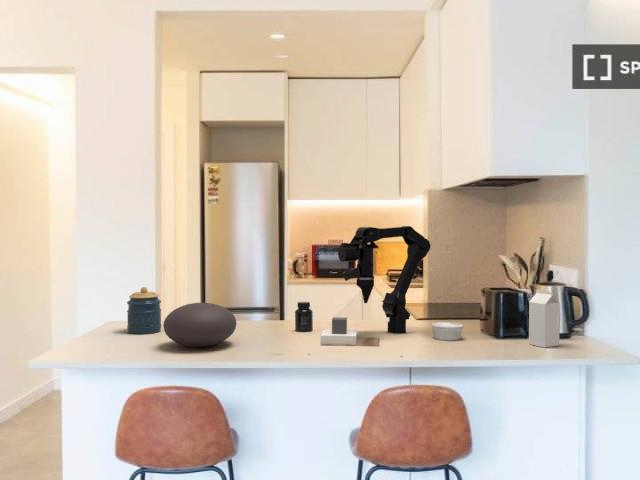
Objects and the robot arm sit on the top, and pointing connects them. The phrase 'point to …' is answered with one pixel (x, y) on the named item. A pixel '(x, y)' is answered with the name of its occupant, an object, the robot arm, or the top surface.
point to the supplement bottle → (303, 317)
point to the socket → (339, 338)
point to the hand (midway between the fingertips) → (365, 303)
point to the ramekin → (447, 331)
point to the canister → (144, 312)
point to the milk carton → (544, 319)
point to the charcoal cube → (339, 325)
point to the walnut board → (361, 342)
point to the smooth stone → (199, 324)
